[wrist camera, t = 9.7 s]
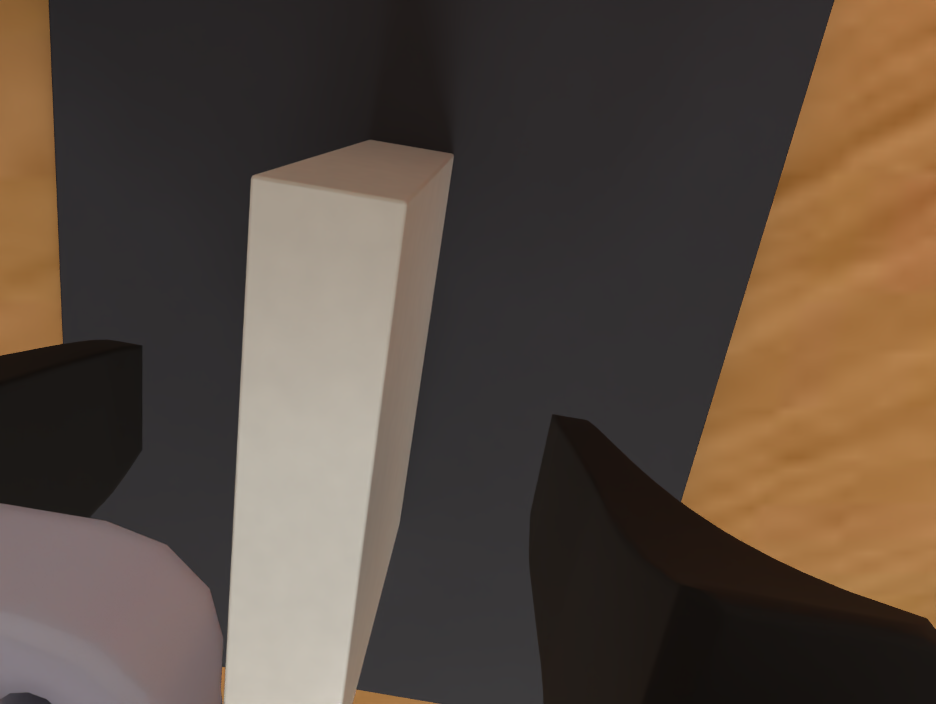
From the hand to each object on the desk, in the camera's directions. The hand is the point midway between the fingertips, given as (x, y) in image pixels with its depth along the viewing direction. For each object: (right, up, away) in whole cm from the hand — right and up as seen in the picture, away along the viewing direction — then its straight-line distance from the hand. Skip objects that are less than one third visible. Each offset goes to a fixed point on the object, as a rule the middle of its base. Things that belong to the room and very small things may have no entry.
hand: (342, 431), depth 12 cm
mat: (0, +2, +4) cm, 5 cm away
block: (0, +1, +4) cm, 4 cm away
